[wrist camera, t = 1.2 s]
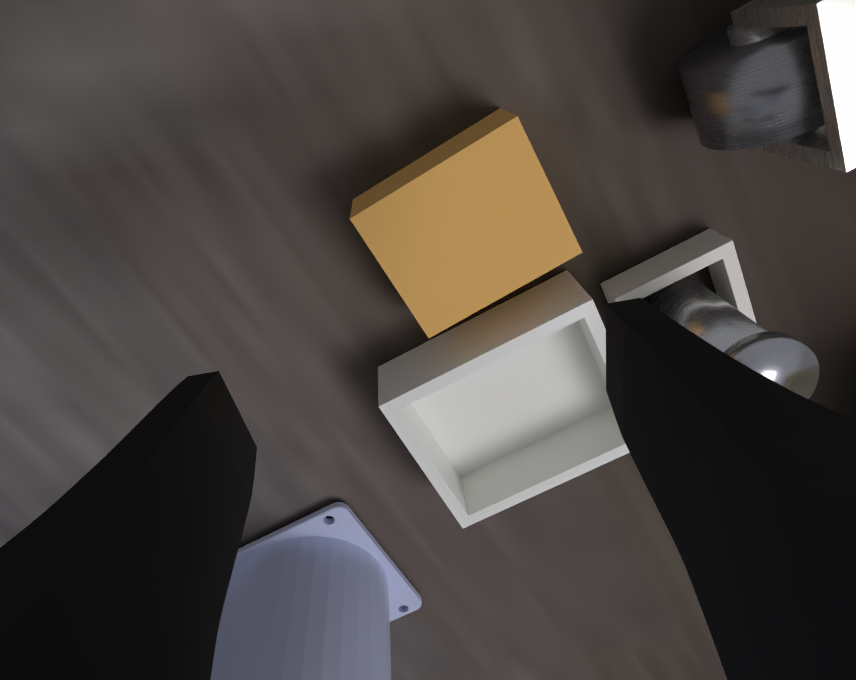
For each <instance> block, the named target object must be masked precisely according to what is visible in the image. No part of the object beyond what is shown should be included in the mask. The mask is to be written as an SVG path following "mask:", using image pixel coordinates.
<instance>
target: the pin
mask: <svg viewBox="0 0 856 680" xmlns="http://www.w3.org/2000/svg"><path fill="white" fill-rule="evenodd" d="M642 299H643V300H645V301H646V302H648V303H649V304H651V305H652V306H654V307H655V308H657V309H658V310H660V311H661V312H663V313H664V314H666V315H667V316H669V317H670V318H672V319H673V320H675V321H676V322H678V323H679V324H681V325H682V326H684V327H685V328H687V329H688V330H690V331H691V332H693V333H694V334H696V335H697V336H699V337H700V338H702V339H703V340H705V341H707V342H708V343H710V344H711V345H713V346H714V347H716V348H718V349H719V350H721V351H722V352H724V353H726V354H727V355H729V356H731V357H732V358H734V359H736V360H737V361H739V362H741V363H742V364H744V365H746V366H747V367H749V368H751V369H753V370H754V371H756V372H758V373H760V374H762V375H763V376H765V377H767V378H769V379H771V380H773V381H774V382H776V383H778V384H780V385H782V386H783V387H785V388H787V389H789V390H791V391H793V392H795V393H797V394H799V395H801V396H803V397H805V398H807V399H810V397H811V396H812V394H813V392H814V390H815V388H816V386H817V383H818V379H819V363H818V360H817V358H816V356H815V354H814V353H813V352H812V350H811V349H809V348H808V347H807V346H806V345H804V344H803V343H801V342H800V341H798V340H797V339H795V338H794V337H792V336H790V335H788V334H786V333H782V332H776V331H767V330H765V329H764V328H762V327H761V326H760V325H758V324H757V323H755V322H754V321H753V320H751V319H750V318H748V317H747V316H746V315H744V314H743V313H742V312H740V311H739V310H737V309H736V308H735V307H733V306H732V305H730V304H729V303H728V302H726V301H725V300H723V299H722V298H721V297H719V296H718V295H716V294H715V293H714V292H712V291H711V290H710V289H708V288H707V287H705V286H704V285H703V284H701V283H700V282H698V281H697V280H696V279H694V278H693V277H691V276H689V275H688V276H686V277H684V278H682V279H680V280H678V281H676V282H674V283H672V284H670V285H668V286H666V287H664V288H662V289H660V290H658V291H656V292H654V293H652V294H650V295H648V296H646V297H644V298H642Z"/></svg>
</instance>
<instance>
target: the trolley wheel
mask: <svg viewBox="0 0 856 680" xmlns="http://www.w3.org/2000/svg"><path fill="white" fill-rule="evenodd" d="M731 16H732V21H733V23H732V24H730V25H729V26H728V27H727V29H725V30H723V31H722V32H720V33H718V34H716V35H715V36H713V37H711V38H710V39H708V40H706V41H705V42H703V43H702V44H700V45H699V46H697V47H696V48H695V49H693V50H692V51H691V52H690V53H688V54H687V55H686V56H685V57H684V58H683V59H682V61H681V62H680V64H679V71H680V74H681V78H682V81H683V85H684V88H685V92H686V95H687V99H688V102H689V105H690V109H691V112H692V116H693V119H694V123H695V126H696V130H697V133H698V137H699V140H700V142H701V144H702V145H703V146H705V147H707V148H710V149H714V150H737V149H746V148H752V147H757V146H762V145H763V149H764V151H767V152H771V153H775V154H779V155H783V156H786V157H790V158H794V159H798V160H802V161H805V162H809V163H813V164H817V165H821V166H824V167H828V168H832V169H836V170H840V171H844V172H848V171H850V170H852V169H854V168H856V0H752V1H750V2H748V3H746V4H745V5H743V6H741V7H739V8H737V9H736V10H734V11H732V12H731Z"/></svg>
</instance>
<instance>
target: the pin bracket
mask: <svg viewBox="0 0 856 680" xmlns="http://www.w3.org/2000/svg"><path fill="white" fill-rule="evenodd" d="M707 266H708V269H709V272H710V275H711V278H712V281H713V285H714V288H715V291H716V294H717V295H718V296H719V297H721V298H722V299H723V300H725V301H726V302H728V303H729V304H730V305H732V306H733V307H735V308H736V309H737V310H739V311H740V312H742V313H743V314H744V315H746V316H747V317H748V318H750V319H751V320H753V321H754V322H755V323H756V320H755V317H754V313H753V310H752V306H751V303H750V299H749V296H748V292H747V289H746V285H745V282H744V278H743V275H742V271H741V268H740V264H739V261H738V257H737V254H736V250H735V247H734V243H733V240H731V239H729V238H727V237H725V236H724V235H722V234H720V233H718V232H716V231H714V230H712V229H710V228H709V229H707V230H705V231H704V232H702V233H700V234H698V235H696V236H694V237H692V238H690V239H688V240H686V241H684V242H682V243H680V244H678V245H676V246H674V247H672V248H670V249H668V250H666V251H664V252H662V253H660V254H658V255H656V256H654V257H652V258H650V259H648V260H646V261H644V262H642V263H640V264H638V265H636V266H634V267H632V268H630V269H628V270H626V271H624V272H622V273H620V274H618V275H616V276H614V277H612V278H610V279H608V280H606V281H604V282H602V283H600V285H601V287H602V290H603V292H604V295H605V297H606V299H607V302H608V303H612V302H618V301H624V300H630V299H635V298H644V297H646V296H648V295H650V294H652V293H654V292H656V291H658V290H660V289H662V288H664V287H666V286H668V285H670V284H672V283H674V282H676V281H678V280H680V279H682V278H684V277H686V276H688V275H690V274H693V273H695V272H697V271H699V270H701V269H703V268H705V267H707Z"/></svg>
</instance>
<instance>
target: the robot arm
mask: <svg viewBox="0 0 856 680" xmlns="http://www.w3.org/2000/svg"><path fill="white" fill-rule="evenodd" d="M606 392H607V395H608V398H609V401H610V404H611V407H612V410H613V412H614V415H615V418H616V421H617V424H618V427H619V430H620V432H621V435H622V438H623V440H624V442H625V444H626V446H627V448H628V450H629V452H630V454H631V456H632V458H633V460H634V462H635V464H636V466H637V468H638V470H639V472H640V474H641V476H642V478H643V480H644V482H645V484H646V486H647V488H648V490H649V492H650V494H651V496H652V498H653V500H654V502H655V504H656V506H657V508H658V510H659V512H660V514H661V516H662V518H663V520H664V522H665V524H666V526H667V528H668V530H669V532H670V534H671V536H672V538H673V540H674V542H675V544H676V546H677V549H678V551H679V553H680V555H681V558H682V560H683V562H684V564H685V567H686V569H687V572H688V574H689V577H690V580H691V582H692V585H693V587H694V590H695V593H696V595H697V598H698V601H699V603H700V606H701V608H702V611H703V614H704V616H705V619H706V622H707V624H708V627H709V630H710V633H711V635H712V638H713V641H714V644H715V646H716V649H717V652H718V655H719V657H720V660H721V663H722V666H723V669H724V671H725V674H726V677H727V680H856V421H854V420H852V419H850V418H848V417H845V416H843V415H841V414H839V413H837V412H835V411H832V410H830V409H828V408H826V407H824V406H822V405H819V404H817V403H815V402H813V401H811V400H809V399H807V398H805V397H803V396H801V395H799V394H797V393H795V392H793V391H791V390H789V389H787V388H785V387H783V386H782V385H780V384H778V383H776V382H774V381H773V380H771V379H769V378H767V377H765V376H763V375H762V374H760V373H758V372H756V371H754V370H753V369H751V368H749V367H747V366H746V365H744V364H742V363H741V362H739V361H737V360H736V359H734V358H732V357H731V356H729V355H727V354H726V353H724V352H722V351H721V350H719V349H718V348H716V347H714V346H713V345H711V344H710V343H708V342H707V341H705V340H703V339H702V338H700V337H699V336H697V335H696V334H694V333H693V332H691V331H690V330H688V329H687V328H685V327H684V326H682V325H681V324H679V323H678V322H676V321H675V320H673V319H672V318H670V317H669V316H667V315H666V314H664V313H663V312H661V311H660V310H658V309H657V308H655V307H654V306H652V305H651V304H649V303H648V302H646V301H645V300H643V299H642V298H635V299H630V300H624V301H618V302H612V303H607V304H606ZM256 451H257V447H256V445H255V443H254V441H253V439H252V437H251V435H250V433H249V431H248V429H247V427H246V425H245V423H244V421H243V419H242V417H241V415H240V413H239V411H238V409H237V407H236V405H235V403H234V401H233V399H232V397H231V395H230V393H229V391H228V389H227V387H226V385H225V383H224V381H223V379H222V377H221V375H220V373H219V371H216V372H211V373H205V374H199V375H193V376H188V377H187V378H185V379H184V380H183V381H182V382H181V383H179V384H178V385H177V386H176V387H175V388H174V389H173V390H172V391H171V392H170V393H169V394H168V395H167V396H166V397H165V398H164V399H163V400H161V401H160V402H159V403H158V404H157V405H156V406H155V407H154V408H153V409H152V410H151V411H150V412H149V413H148V414H147V415H146V416H145V417H144V418H143V419H142V420H141V421H140V422H139V423H138V424H137V425H136V426H135V427H134V428H133V429H132V430H131V431H130V432H129V433H128V434H127V435H126V436H125V437H124V438H123V439H122V440H121V441H120V442H119V443H118V444H117V445H116V446H115V447H114V448H113V449H112V450H111V451H110V452H109V453H108V454H107V455H106V456H105V457H104V458H103V459H102V460H101V461H100V462H99V463H98V464H97V465H95V466H94V467H93V468H92V469H91V470H90V471H89V472H88V473H87V474H86V475H85V476H84V477H83V478H81V479H80V480H79V481H78V482H77V483H76V484H75V485H74V486H73V487H72V488H71V489H70V490H68V491H67V492H66V493H65V494H64V495H63V496H62V497H61V498H60V499H59V500H58V501H57V502H55V503H54V504H53V505H52V506H51V507H50V508H48V509H47V510H46V511H45V512H44V513H43V514H42V515H40V516H39V517H38V518H37V519H36V520H34V521H33V522H32V523H31V524H30V525H28V526H27V527H26V528H25V529H23V530H22V531H21V532H20V533H18V534H17V535H16V536H15V537H13V538H12V539H11V540H10V541H8V542H7V543H6V544H5V545H3V546H2V547H1V548H0V680H391V657H390V621H393V620H395V619H397V618H400V617H402V616H404V615H406V614H409V613H411V612H413V611H416V610H417V609H419V608H420V607H421V604H422V601H421V596H420V595H419V593H418V592H417V591H416V590H415V588H414V587H413V586H412V585H411V583H410V582H409V581H408V580H407V579H406V577H405V576H404V575H403V574H402V572H401V571H400V570H399V569H398V567H397V566H396V565H395V564H394V562H393V561H392V560H391V559H390V557H389V556H388V555H387V554H386V552H385V551H384V550H383V549H382V547H381V546H380V545H379V544H378V542H377V541H376V540H375V539H374V537H373V536H372V535H371V534H370V532H369V531H368V530H367V529H366V527H365V526H364V525H363V524H362V523H361V521H360V520H359V519H358V518H357V516H356V515H355V514H354V513H353V511H352V510H351V509H350V508H349V506H348V505H346V504H345V503H342V502H336V503H333V504H331V505H328V506H326V507H324V508H322V509H320V510H318V511H316V512H314V513H312V514H310V515H308V516H306V517H303V518H301V519H299V520H297V521H295V522H293V523H291V524H289V525H287V526H285V527H283V528H281V529H278V530H276V531H274V532H272V533H270V534H268V535H266V536H264V537H262V538H260V539H258V540H256V541H253V542H251V543H249V544H247V545H245V546H243V547H241V548H239V544H240V540H241V537H242V533H243V529H244V525H245V521H246V517H247V513H248V509H249V505H250V500H251V496H252V489H253V481H254V473H255V462H256ZM326 516H332V517H333V518H326ZM238 548H239V549H238ZM402 605H405V606H402Z"/></svg>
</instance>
